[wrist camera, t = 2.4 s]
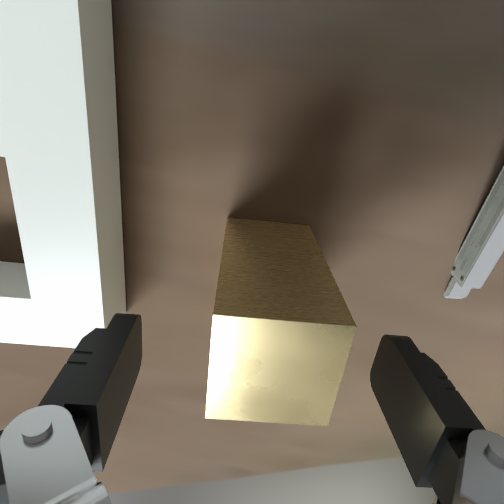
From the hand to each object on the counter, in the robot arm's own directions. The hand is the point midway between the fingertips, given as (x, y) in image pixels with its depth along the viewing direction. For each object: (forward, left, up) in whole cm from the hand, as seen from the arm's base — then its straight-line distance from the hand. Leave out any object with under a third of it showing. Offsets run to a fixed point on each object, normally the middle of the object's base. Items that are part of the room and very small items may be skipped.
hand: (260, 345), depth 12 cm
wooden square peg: (0, 0, -7) cm, 7 cm away
